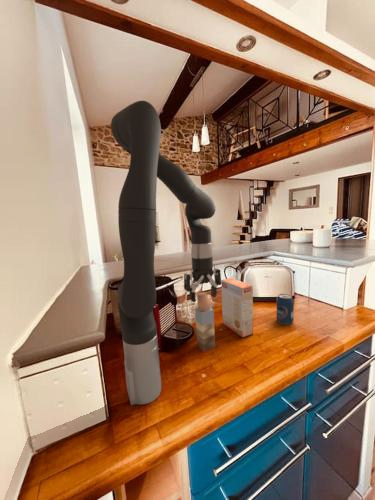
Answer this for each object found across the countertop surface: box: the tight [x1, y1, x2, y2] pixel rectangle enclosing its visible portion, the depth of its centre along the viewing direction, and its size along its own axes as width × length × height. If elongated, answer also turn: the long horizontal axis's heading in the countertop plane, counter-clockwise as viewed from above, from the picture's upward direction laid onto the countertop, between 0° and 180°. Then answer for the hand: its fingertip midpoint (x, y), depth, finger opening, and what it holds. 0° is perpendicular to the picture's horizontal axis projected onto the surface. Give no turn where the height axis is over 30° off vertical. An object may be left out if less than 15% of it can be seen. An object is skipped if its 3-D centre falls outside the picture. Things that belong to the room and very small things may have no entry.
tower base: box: [196, 333, 216, 352], centre depth 80 cm, size 5×5×5 cm
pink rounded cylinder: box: [196, 292, 211, 312], centre depth 78 cm, size 5×5×6 cm
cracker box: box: [221, 277, 254, 338], centre depth 90 cm, size 14×6×21 cm, turn 25°
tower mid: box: [195, 320, 216, 339], centre depth 79 cm, size 5×5×5 cm
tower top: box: [194, 306, 215, 326], centre depth 79 cm, size 5×5×5 cm
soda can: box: [276, 293, 295, 325], centre depth 95 cm, size 7×7×12 cm
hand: (203, 298), depth 78 cm, fingers open, 8 cm apart
